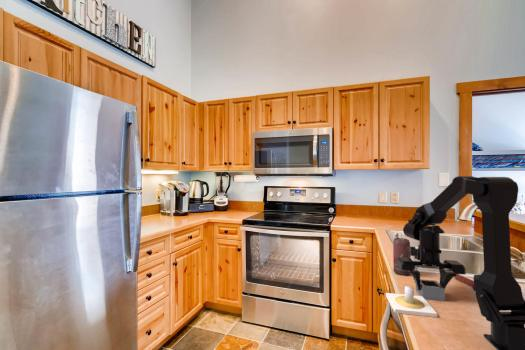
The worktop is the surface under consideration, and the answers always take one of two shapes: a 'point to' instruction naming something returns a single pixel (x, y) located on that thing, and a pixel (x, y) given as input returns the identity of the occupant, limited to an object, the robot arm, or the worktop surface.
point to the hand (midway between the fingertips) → (429, 290)
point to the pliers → (464, 280)
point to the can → (400, 254)
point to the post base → (410, 311)
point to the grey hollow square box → (431, 290)
